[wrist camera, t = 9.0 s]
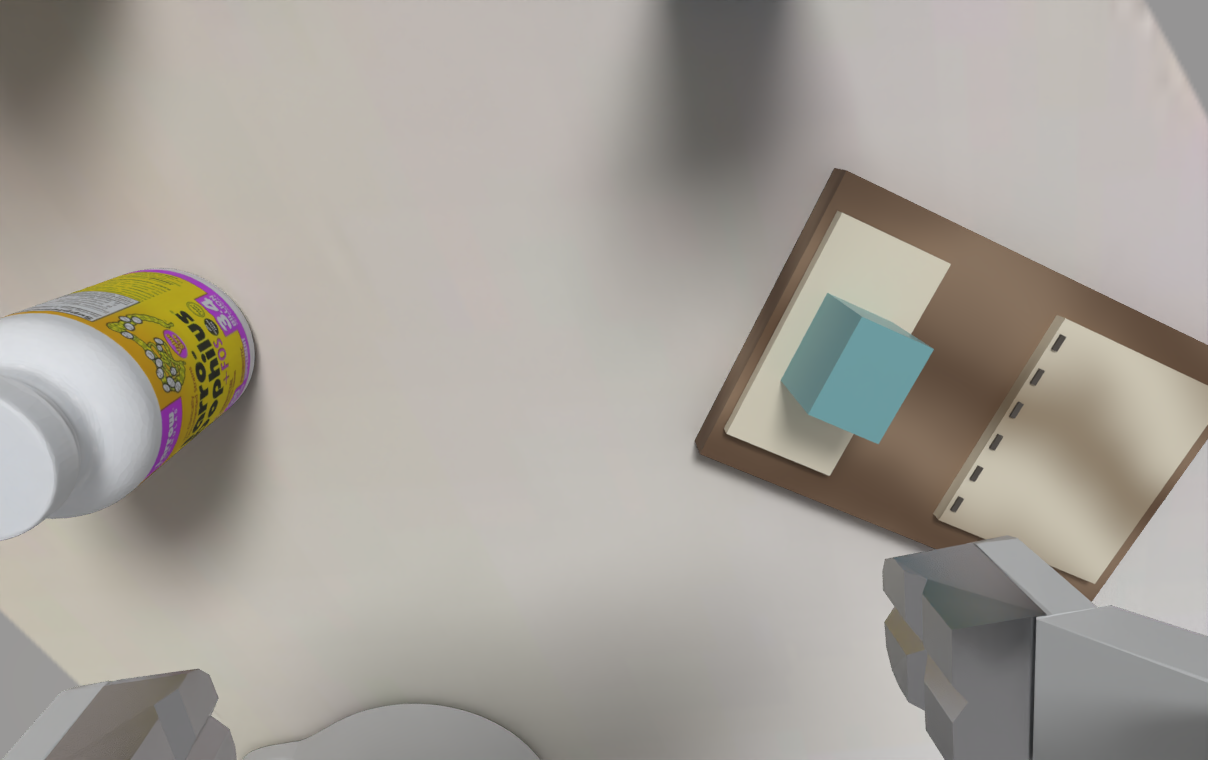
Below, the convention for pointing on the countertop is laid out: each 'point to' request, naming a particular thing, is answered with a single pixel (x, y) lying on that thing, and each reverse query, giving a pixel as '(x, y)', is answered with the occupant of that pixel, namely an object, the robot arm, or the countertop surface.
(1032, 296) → the board
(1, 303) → the countertop surface
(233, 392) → the supplement bottle
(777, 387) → the panel
